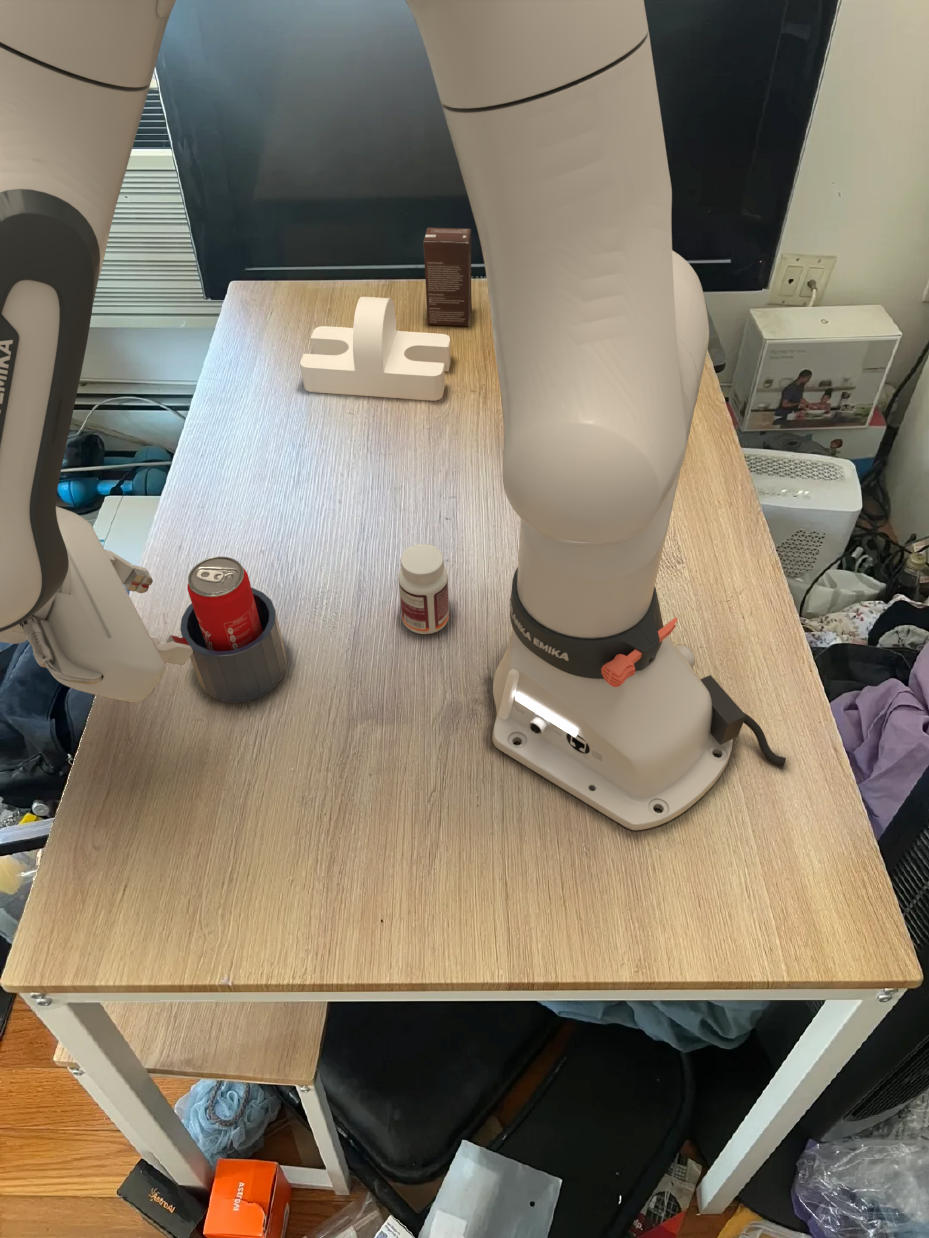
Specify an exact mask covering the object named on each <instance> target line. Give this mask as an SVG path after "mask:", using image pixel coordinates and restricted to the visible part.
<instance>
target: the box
mask: <svg viewBox="0 0 929 1238" xmlns="http://www.w3.org/2000/svg"><path fill="white" fill-rule="evenodd" d="M422 242H423V244H422V245H423V262H424V276H425V277H424V279H425V281H424V282H425V299H426V321H427V325H437V326H463V327H465V326H466V327H469V326H470V323H471V316H472V305H473V304H472V229H471V228H451V227H446V228H445V227H427V228H426V231H425V235H424V238H423V241H422Z"/></svg>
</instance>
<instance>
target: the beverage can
mask: <svg viewBox="0 0 929 1238" xmlns="http://www.w3.org/2000/svg"><path fill="white" fill-rule="evenodd" d="M187 576H188V577H187V593H188V596H189V599H190V602H191V603H192V605H193V608H194V611H195V614H196V617H197V620H198V622H199V625H200V628H201V631H202V634H203V637H204V640H205V643H206V646H207V649H208V650H214V651H229V650H235V649H238V648H241V647H244V646H246V645H248V644H249V643H251V642H253V641H254V640H256V639H257V638H258V637H259V636H260V635H261V634H262V633H263V631H262V627H261V623H260V619H259V615H258V611H257V608H256V604H255V600H254V596H253V592H252V589H251V588H252V585H251V582H250V581H251V580H250V578H249V574H248V572H247V571H246V569H245V568H244V567H243V565H242V564H241V563H240V561H238V560H236V559H234V558H233V557H229V556H222V555H221V556H212V557H208V558H205V559H203V560H202V561H199V562H198V563H197V564H195V565H194V566H193V568H191V570H190V572H189V574H188V575H187Z"/></svg>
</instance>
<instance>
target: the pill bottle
mask: <svg viewBox="0 0 929 1238" xmlns="http://www.w3.org/2000/svg"><path fill="white" fill-rule="evenodd" d="M397 581H398V590H399V591H398V592H399V600H400V610H401V620H402V623H403V624H404V626H405V628H407V629H408V630H409V631H411V632H413V633H415V634H418V635H429V634H434V633H437V632H439V631H441V630H442V629H443V628H444V627H445V626H446V625H447V623H448V621H449V618H450V605H449V603H450V602H449V574H448V571H447V568H446V566H445V561H444V555H443V553H442V551H441V550H440V549H439V548H438V547H436V546H434V545H432V544H428V543H419V544H414V545H412V546H410V547H408V548H406V549H405V550H404V551H403V552H402V554H401V557H400V570H399V572H398V578H397Z"/></svg>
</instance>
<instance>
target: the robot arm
mask: <svg viewBox="0 0 929 1238" xmlns="http://www.w3.org/2000/svg"><path fill="white" fill-rule="evenodd" d="M176 2H177V0H0V643H6V644H11V645H18V644H22V643H25V642H26V641H27V642H28V643H29V645H30V646H31V648H32V651H33V657H34V660H35V661H36V663H37V664H38V665H39V666H40V667H41V668H46V669H47V670H48V671H49V673H50V674H51V675H52V677H53V678H54V679H55V680H56V681H57V682H59V683H60V684H62V685H63V686H66V687H68V688H71V689H73V690H76V691H79V692H83V693H85V694H86V693H87V694H90V695H94V696H99V697H103V698H108V699H113V700H118V701H122V702H129V703H139V702H141V701H143V700H145V699H146V698H147V697H149V695H150V694H151V693H152V691H153V690H154V689H155V687H156V686H157V685H158V683H159V681H160V680H161V679H162V677H163V675H164V674H165V672H166V669H167V666H166V664H170V665H171V664H172V665H177V666H183V665H185V664H186V663H187V662H188V661H189V659H190V656H191V655H192V654H193V650H192V648H191V647H190V645H189V643H188V642H187V640H186V639H185V638H183V637H182V636H181V637H180V636H177V635H173V634H170V635H169V636H168V638H167V639H166V641H165V643H162V644H161V642H160V641H159V639H157V638H153V637H152V636H151V634H150V632H149V630H148V628H147V627H146V624H145V623H144V621H143V619H142V617H141V615H140V614H139V612H138V610H137V608H136V606H135V604H134V602H133V600H132V599H131V597H130V595H129V593H128V592H129V591H130V592H133V593H134V592H136V593H138V594H145V593H146V592H147V591H148V590H149V588H150V586H151V585H152V584H153V583H154V580H153V577H152V575H151V574H150V572H149V570H148V569H147V568H146V567H143V566H139V565H135V564H132V563H131V562H130V561H128V560H126V559H125V558H123V557H121V556H119V555H118V554H116V553H115V552H113V551H112V550H108V549H105V548H104V546H103V544H102V542H101V540H100V538H99V537H98V535H97V533H96V531H95V528H94V526H93V525H92V524H91V522H90V521H88V520H86V519H85V518H83V517H82V516H81V515H79V514H77V513H76V512H74V511H71V510H68V509H65V508H62V507H60V506H57V496H58V488H59V482H60V477H61V473H62V468H63V463H64V458H65V453H66V450H67V449H66V448H67V443H68V439H69V434H70V429H71V424H72V420H73V414H74V410H75V405H76V401H77V395H78V390H79V386H80V380H81V377H82V371H83V365H84V362H85V355H86V350H87V345H88V344H87V343H88V338H89V334H90V327H91V320H92V316H93V315H92V313H93V307H94V301H95V297H96V294H97V293H96V292H97V288H98V283H99V280H100V277H101V273H102V268H103V265H104V260H105V256H106V251H107V246H108V242H109V238H110V232H111V228H112V224H113V219H114V216H115V212H116V208H117V204H118V201H119V197H120V193H121V190H122V186H123V183H124V179H125V176H126V172H127V169H128V165H129V162H130V158H131V154H132V150H133V148H134V144H135V140H136V137H137V132H138V130H139V127H140V124H141V120H142V116H143V113H144V109H145V105H146V103H147V99H148V95H149V91H150V87H151V83H152V80H153V76H154V73H155V70H156V65H157V61H158V58H159V54H160V50H161V47H162V42H163V38H164V35H165V32H166V28H167V26H168V23H169V19H170V17H171V13H172V11H173V8H174V7H175V4H176ZM404 2H405V3H406V5H407V7H408V9H409V10H410V13H411V15H412V17H413V19H414V20H413V21H414V22H415V24H416V27H417V29H418V32H419V34H420V37H421V41H422V43H423V47H424V49H425V53H426V56H427V59H428V62H429V65H430V69H431V73H432V76H433V81H434V83H435V87H436V92H437V95H438V99H439V101H440V104H441V108H442V111H443V115H444V118H445V121H446V125H447V129H448V131H449V135H450V139H451V142H452V146H453V149H454V152H455V157H456V159H457V163H458V166H459V170H460V174H461V177H462V181H463V184H464V188H465V192H466V194H467V195H466V196H467V198H468V202H469V205H470V207H471V209H470V210H471V212H472V216H473V219H474V223H475V226H476V230H477V234H478V239H479V244H480V247H481V254H482V258H483V264H484V270H485V278H486V284H487V285H486V286H487V292H488V293H487V295H488V302H489V312H490V320H491V322H490V323H491V330H492V340H493V347H494V355H495V357H494V358H495V364H496V370H497V378H498V384H499V393H500V402H501V411H502V412H501V413H502V427H503V429H502V431H503V442H502V443H503V444H502V445H503V447H502V448H503V449H502V472H501V473H502V475H501V476H502V486H503V489H504V493H505V497H506V499H507V501H508V503H509V505H510V506H511V507H512V509H513V511H514V513H516V515H517V516H518V517H519V518H520V523H519V524H520V525H519V527H520V528H519V540H518V541H519V542H518V558H517V559H518V560H517V567H516V569H515V570H514V571H515V572H514V573H513V577H512V581H511V590H510V598H509V603H508V605H509V619H510V624H511V629H510V633H509V634H510V635H509V639H508V643H507V645H506V648H505V652H504V653H503V656H502V659H501V660H500V661H499V663H498V665H497V667H496V670H495V673H494V676H493V681H492V695H493V702H494V705H495V710H496V718H495V721H494V726H493V730H492V735H491V739H492V743H493V746H494V747H495V748H496V749H497V750H499V751H500V752H502V753H504V754H505V755H507V756H509V757H510V758H512V759H513V760H515V761H517V762H518V763H520V764H522V765H524V766H525V767H527V768H528V769H529V770H531V771H533V772H535V773H536V774H539V775H540V776H541V777H543V778H544V779H546V780H548V781H549V782H552V783H553V784H554V785H555V786H558V787H559V788H561V789H562V790H564V791H566V792H568V793H569V794H570V795H572V796H574V797H575V798H577V799H579V800H580V801H582V802H583V803H585V804H587V805H589V806H590V807H591V808H593V809H595V810H597V811H598V812H600V813H601V814H603V815H605V816H606V817H608V818H610V819H611V820H613V821H615V822H617V823H618V824H620V825H621V826H622V827H625V828H627V829H629V830H631V831H641V830H648V829H652V828H655V827H658V826H661V825H663V824H666V823H668V822H671V821H672V820H673V819H676V818H677V817H678V816H680V815H682V814H683V813H684V812H686V811H688V810H689V809H690V808H691V807H692V806H694V805H695V804H696V803H697V802H698V801H699V800H700V799H702V797H703V796H705V795H706V794H707V792H708V791H709V790H710V789H711V788H712V787H713V786H714V785H715V783H716V782H717V781H718V780H719V779H720V777H721V776H722V774H723V772H724V771H725V769H726V767H727V765H728V763H729V761H730V757H731V754H732V748H733V741H734V739H736V738H738V737H739V735H740V732H741V730H742V727H743V725H746V727H748V728H749V729H750V730H751V731H752V733H753V734H754V736H755V739H756V741H757V743H758V746H759V748H760V750H761V753H762V754H763V755H764V757H765V758H766V759H767V760H768V761H769V762H770V763H771V764H774V765H776V766H781V767H784V766H785V764H786V761H787V758H786V757H783V756H780V755H779V756H778V755H776V754H775V753H774V752H773V750H772V749H771V748H770V745H769V742H768V740H767V738H766V735H765V732H764V731H763V729H762V728H761V726H760V725H759V724H758V722H756V721H755V719H753V718H752V717H751V716H750V715H748V714H747V713H746V712H745V711H743V710H742V709H741V708H740V707H739V705H738V704H737V703H736V702H735V701H734V700H733V699H732V697H730V695H729V694H728V693H727V692H726V691H725V689H723V687H722V686H721V685H720V684H719V683H718V682H717V680H716V679H715V678H714V677H713V676H712V675H711V674H709V675H706V676H705V677H702V678H700V677H699V676H698V674H697V673H696V672H695V670H694V668H693V667H694V665H695V664H696V658H695V654H694V653H693V651H692V650H691V648H689V646H687V645H685V644H678V645H676V643H675V642H674V641H673V639H672V638H671V636H670V635H671V634H672V632H673V631H674V630H675V628H677V627H676V626H677V624H676V623H677V622H678V620H679V619H678V617H677V616H676V617H673V618H672V619H671V620H670V621H669V622H667V623H666V624H665V625H664V622H663V617H662V611H661V606H660V601H659V596H658V591H657V588H656V582H657V577H658V574H659V569H660V564H661V560H662V556H663V552H664V547H665V543H666V538H667V533H668V529H669V525H670V520H671V516H672V511H673V507H674V502H675V496H676V492H677V488H678V483H679V479H680V475H681V470H682V468H683V464H684V460H685V457H686V452H687V448H688V443H689V437H690V434H691V433H690V432H691V429H692V424H693V423H692V422H693V419H694V413H695V409H696V405H697V402H698V398H699V393H700V387H701V382H702V379H703V378H702V377H703V373H704V368H705V363H706V359H707V355H708V354H707V353H708V350H709V342H710V325H709V315H708V309H707V304H706V299H705V295H704V290H703V289H704V288H703V286H702V283H701V281H700V279H699V276H698V274H697V272H696V271H695V270H694V268H693V267H692V266H691V264H690V263H689V262H688V261H687V260H686V258H684V257H682V255H680V254H679V253H677V252H676V251H674V250H673V233H672V211H673V210H672V207H673V189H672V182H671V175H670V169H669V163H668V155H667V149H666V141H665V134H664V125H663V121H662V113H661V106H660V99H659V98H660V97H659V91H658V85H657V78H656V71H655V65H654V59H653V52H652V44H651V38H650V37H651V36H650V32H649V24H648V19H647V11H646V6H645V0H404ZM127 591H128V592H127ZM516 742H517V743H520V744H518V745H517V744H514V743H516ZM715 755H717V756H719V757H717V756H715ZM655 809H658V810H660V811H661V812H657V811H655Z"/></svg>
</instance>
